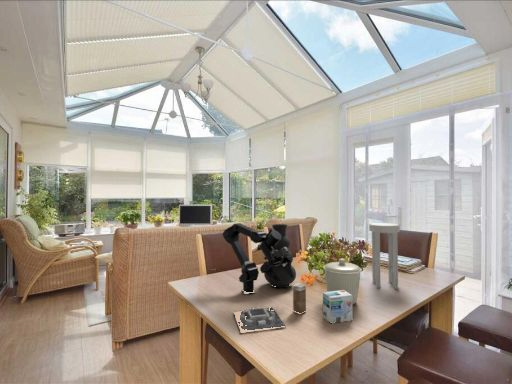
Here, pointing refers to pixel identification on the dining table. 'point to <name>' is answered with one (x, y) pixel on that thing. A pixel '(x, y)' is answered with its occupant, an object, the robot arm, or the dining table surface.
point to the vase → (283, 242)
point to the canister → (343, 277)
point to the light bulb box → (337, 306)
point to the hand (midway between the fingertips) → (286, 279)
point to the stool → (392, 251)
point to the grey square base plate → (260, 318)
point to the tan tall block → (299, 298)
